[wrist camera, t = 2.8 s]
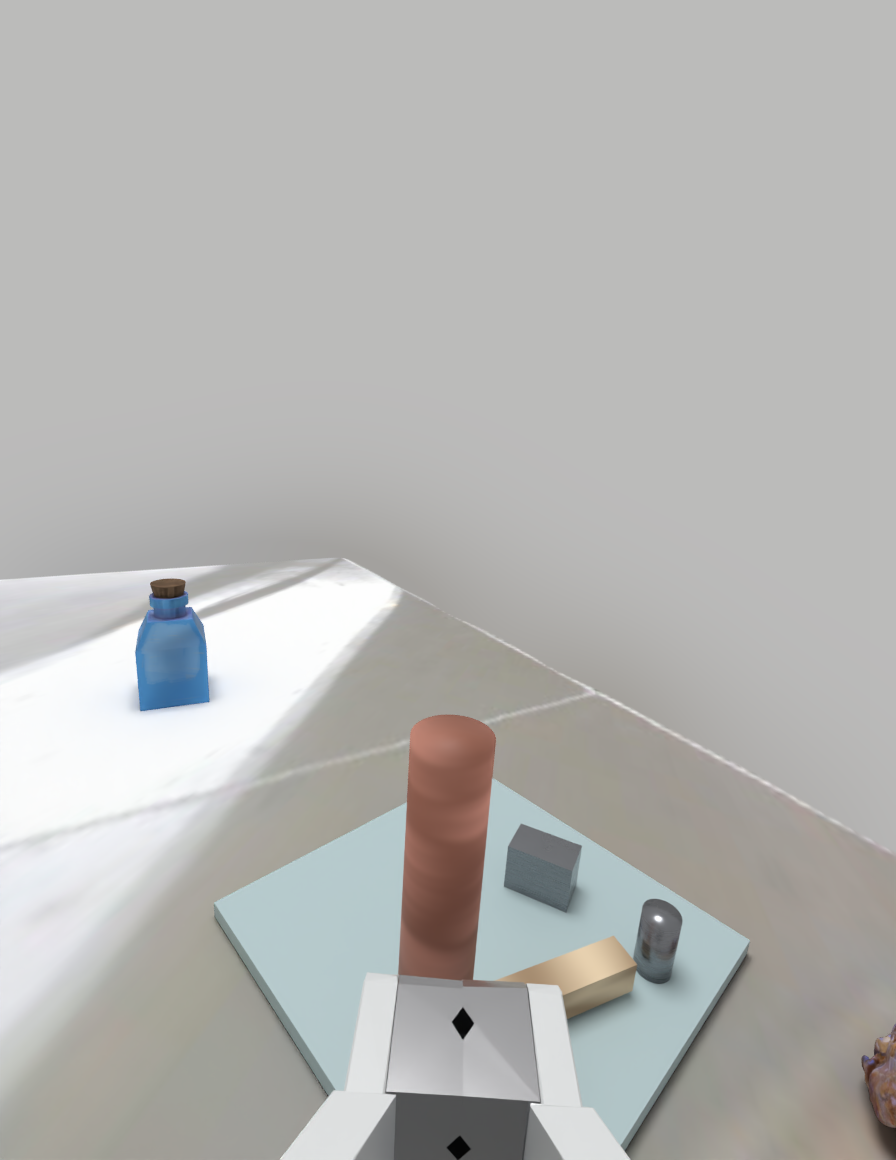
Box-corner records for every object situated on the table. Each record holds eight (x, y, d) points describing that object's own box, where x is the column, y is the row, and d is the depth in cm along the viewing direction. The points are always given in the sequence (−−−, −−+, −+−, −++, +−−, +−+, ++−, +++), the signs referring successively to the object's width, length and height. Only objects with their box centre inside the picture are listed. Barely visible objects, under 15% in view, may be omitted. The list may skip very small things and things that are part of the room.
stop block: (503, 886, 35) (508, 846, 35) (516, 862, 37) (520, 823, 37) (566, 913, 34) (572, 871, 33) (576, 885, 36) (582, 845, 35)
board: (214, 916, 33) (213, 902, 33) (474, 777, 48) (475, 766, 48) (495, 1359, 18) (497, 1339, 18) (746, 954, 33) (750, 940, 33)
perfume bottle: (140, 711, 55) (130, 593, 52) (143, 684, 60) (134, 576, 57) (209, 702, 58) (203, 589, 55) (205, 677, 63) (200, 573, 60)
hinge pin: (623, 979, 31) (635, 911, 30) (641, 957, 32) (653, 892, 31) (657, 1006, 29) (672, 937, 28) (675, 982, 31) (689, 915, 30)
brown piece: (601, 950, 31) (645, 682, 27) (642, 1003, 28) (698, 714, 24) (384, 1033, 26) (398, 721, 22) (408, 1108, 23) (429, 766, 19)
